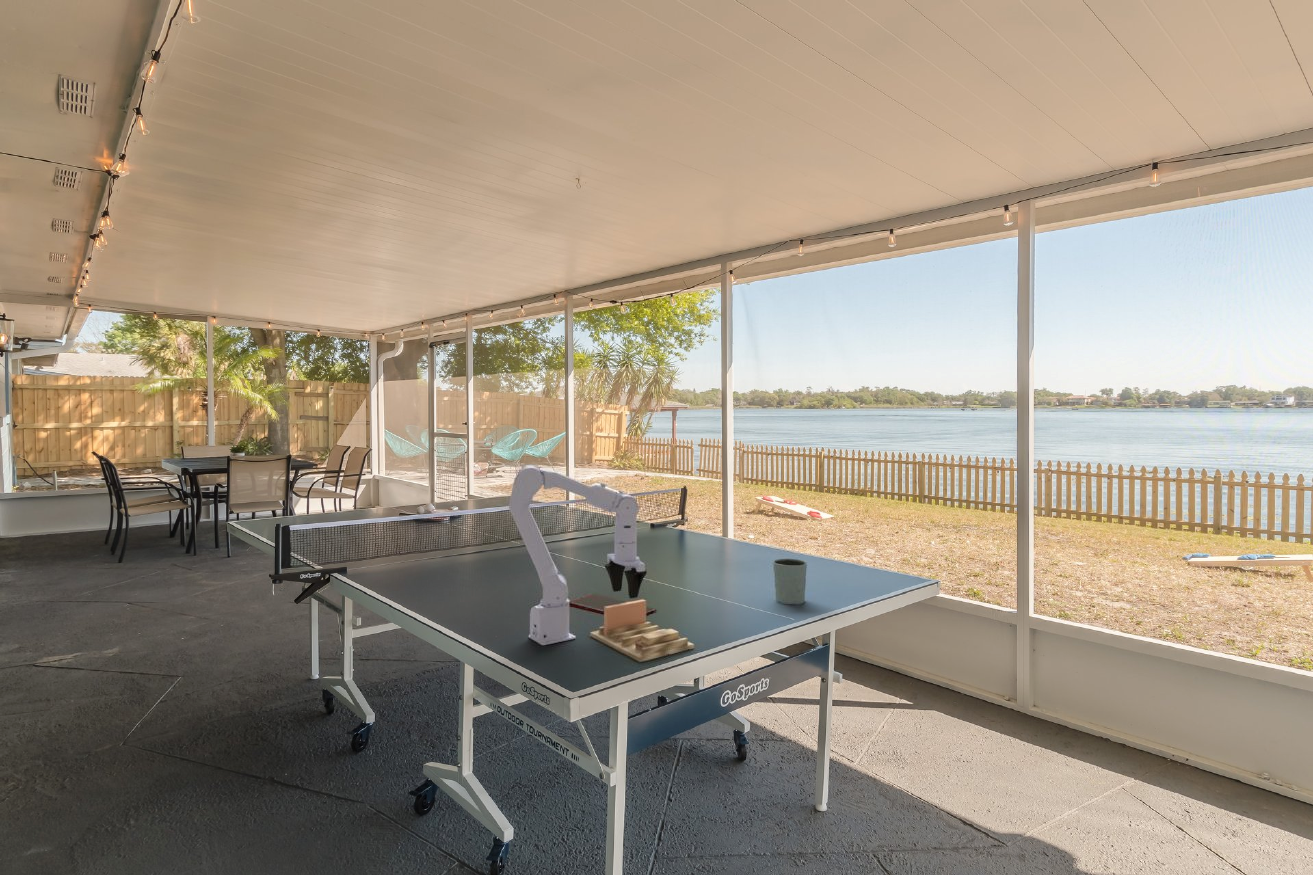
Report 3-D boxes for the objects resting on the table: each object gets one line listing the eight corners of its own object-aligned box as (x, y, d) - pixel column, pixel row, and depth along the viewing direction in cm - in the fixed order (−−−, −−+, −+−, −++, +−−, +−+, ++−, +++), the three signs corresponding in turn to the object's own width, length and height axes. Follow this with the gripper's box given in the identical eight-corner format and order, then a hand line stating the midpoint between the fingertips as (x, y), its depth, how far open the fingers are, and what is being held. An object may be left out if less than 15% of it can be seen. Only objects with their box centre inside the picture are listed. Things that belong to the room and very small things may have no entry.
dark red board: (632, 618, 187) (566, 601, 202) (632, 624, 187) (566, 606, 202) (658, 608, 196) (594, 592, 211) (658, 613, 196) (594, 597, 211)
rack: (639, 661, 156) (639, 651, 156) (590, 636, 174) (590, 626, 174) (693, 648, 166) (693, 638, 165) (641, 624, 183) (641, 615, 183)
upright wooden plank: (607, 635, 171) (607, 608, 171) (603, 634, 172) (604, 606, 172) (646, 627, 178) (646, 600, 178) (642, 625, 179) (642, 599, 179)
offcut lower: (643, 652, 159) (643, 646, 159) (635, 648, 162) (635, 642, 162) (680, 643, 166) (680, 637, 166) (672, 639, 168) (672, 633, 168)
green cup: (806, 606, 203) (807, 566, 202) (771, 604, 205) (772, 564, 204) (805, 597, 213) (806, 559, 212) (773, 595, 215) (773, 557, 214)
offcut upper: (648, 645, 160) (648, 638, 160) (641, 641, 163) (641, 635, 162) (678, 637, 165) (678, 631, 165) (671, 634, 168) (671, 628, 168)
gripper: (654, 544, 171) (654, 598, 172) (623, 535, 183) (622, 585, 183) (631, 547, 167) (631, 602, 167) (600, 538, 179) (600, 589, 179)
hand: (625, 594), depth 175 cm, fingers open, 7 cm apart
